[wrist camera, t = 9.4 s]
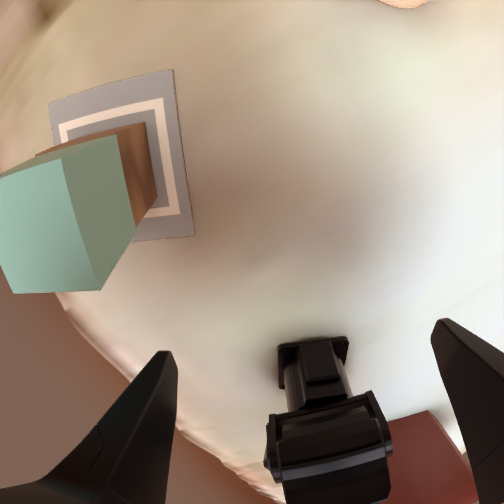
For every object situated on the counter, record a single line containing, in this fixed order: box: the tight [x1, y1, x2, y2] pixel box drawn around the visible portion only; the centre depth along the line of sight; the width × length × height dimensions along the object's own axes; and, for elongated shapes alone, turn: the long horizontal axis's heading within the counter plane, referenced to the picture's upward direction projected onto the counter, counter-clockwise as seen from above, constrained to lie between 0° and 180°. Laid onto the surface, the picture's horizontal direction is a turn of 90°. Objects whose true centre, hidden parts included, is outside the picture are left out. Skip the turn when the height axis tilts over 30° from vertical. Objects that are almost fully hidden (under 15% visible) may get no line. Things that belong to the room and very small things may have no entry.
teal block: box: [0, 134, 137, 294], centre depth 11 cm, size 5×5×5 cm
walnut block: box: [35, 122, 158, 227], centre depth 16 cm, size 5×5×5 cm
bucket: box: [381, 410, 479, 504], centre depth 30 cm, size 24×22×25 cm
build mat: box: [48, 69, 195, 242], centre depth 18 cm, size 11×9×1 cm
